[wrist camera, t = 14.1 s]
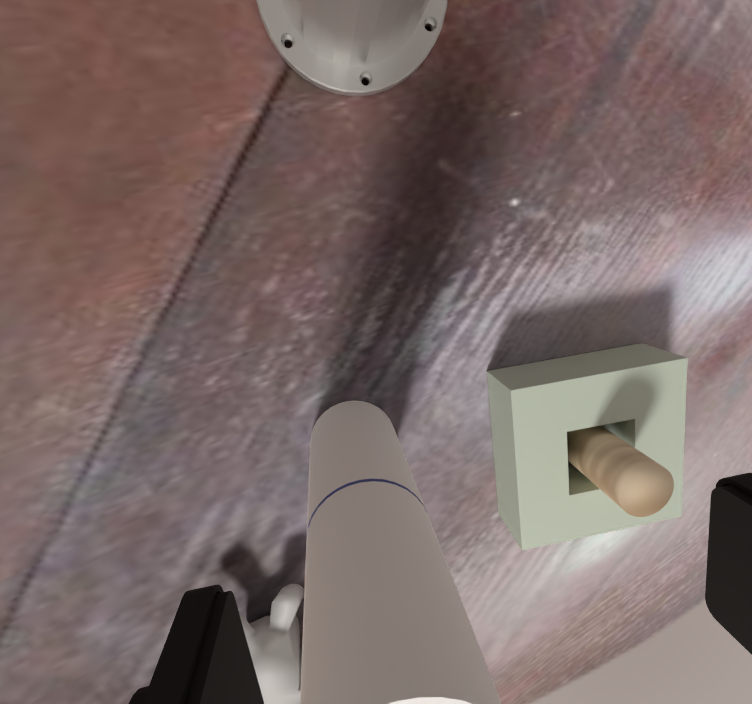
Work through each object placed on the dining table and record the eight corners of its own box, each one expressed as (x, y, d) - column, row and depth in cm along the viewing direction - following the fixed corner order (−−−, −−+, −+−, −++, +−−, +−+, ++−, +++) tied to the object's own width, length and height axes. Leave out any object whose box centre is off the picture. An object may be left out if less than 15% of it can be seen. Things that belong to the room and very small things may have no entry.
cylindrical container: (389, 393, 38) (513, 673, 14) (400, 469, 39) (527, 834, 15) (303, 408, 37) (274, 730, 13) (318, 485, 39) (318, 890, 15)
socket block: (486, 371, 38) (510, 390, 33) (642, 342, 39) (687, 358, 34) (498, 514, 42) (521, 550, 37) (640, 484, 43) (681, 516, 38)
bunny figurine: (237, 754, 40) (187, 638, 34) (244, 693, 45) (201, 583, 39) (342, 727, 41) (310, 610, 35) (339, 670, 46) (310, 559, 40)
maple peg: (546, 414, 40) (619, 471, 30) (588, 406, 40) (674, 459, 31) (548, 455, 41) (619, 522, 31) (590, 446, 41) (673, 510, 32)
